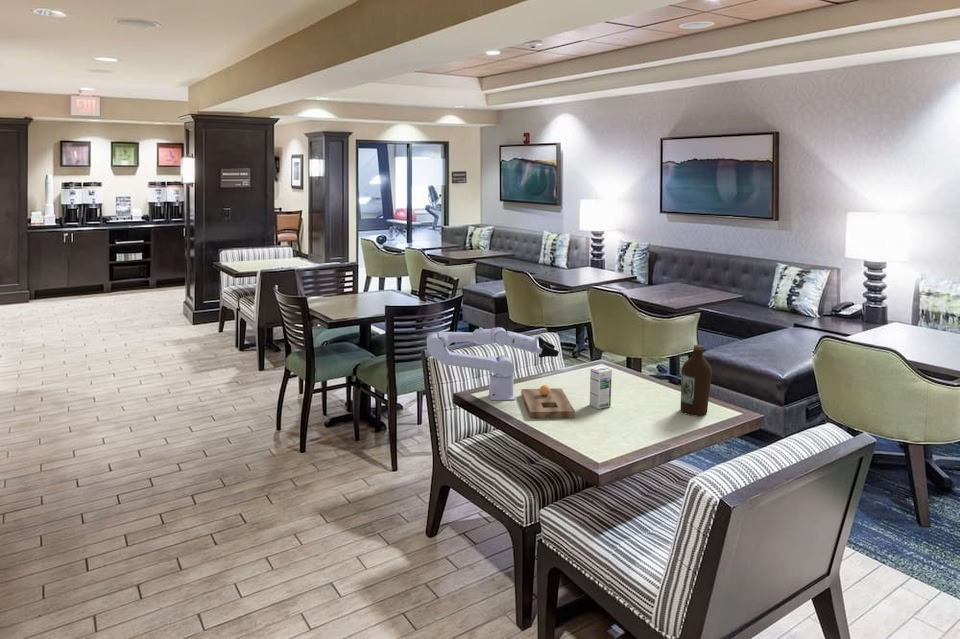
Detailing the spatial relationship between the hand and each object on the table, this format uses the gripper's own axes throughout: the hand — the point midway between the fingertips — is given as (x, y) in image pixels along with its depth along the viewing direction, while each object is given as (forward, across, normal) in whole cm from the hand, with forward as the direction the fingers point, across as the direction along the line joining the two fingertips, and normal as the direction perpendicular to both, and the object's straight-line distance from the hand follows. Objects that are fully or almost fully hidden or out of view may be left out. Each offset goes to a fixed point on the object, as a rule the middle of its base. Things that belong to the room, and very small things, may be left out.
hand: (556, 351), depth 261 cm
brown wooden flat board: (0, -12, +19) cm, 22 cm away
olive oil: (+50, -22, +4) cm, 55 cm away
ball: (-1, -7, +14) cm, 16 cm away
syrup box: (+19, -13, +13) cm, 27 cm away
